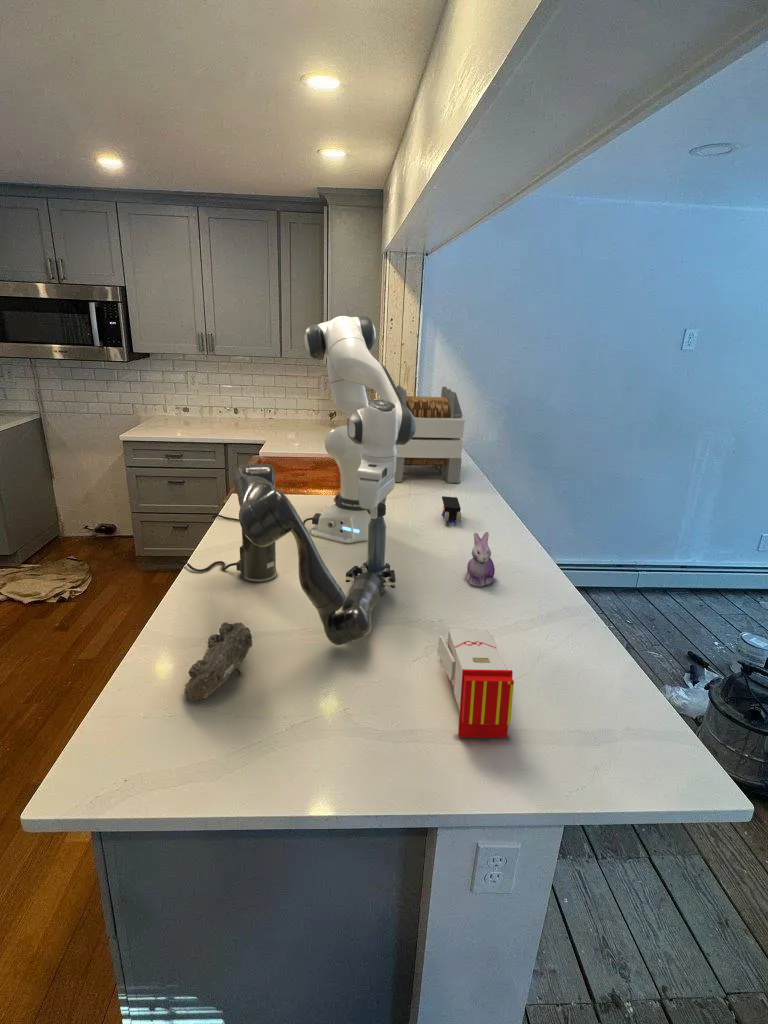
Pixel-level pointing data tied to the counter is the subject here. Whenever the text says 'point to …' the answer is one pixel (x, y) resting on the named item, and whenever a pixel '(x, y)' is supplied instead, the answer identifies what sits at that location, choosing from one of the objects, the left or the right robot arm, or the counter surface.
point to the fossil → (218, 660)
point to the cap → (381, 509)
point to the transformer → (433, 435)
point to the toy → (478, 682)
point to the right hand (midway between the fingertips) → (377, 514)
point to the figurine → (480, 562)
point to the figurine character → (451, 509)
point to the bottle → (376, 545)
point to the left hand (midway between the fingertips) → (377, 565)
